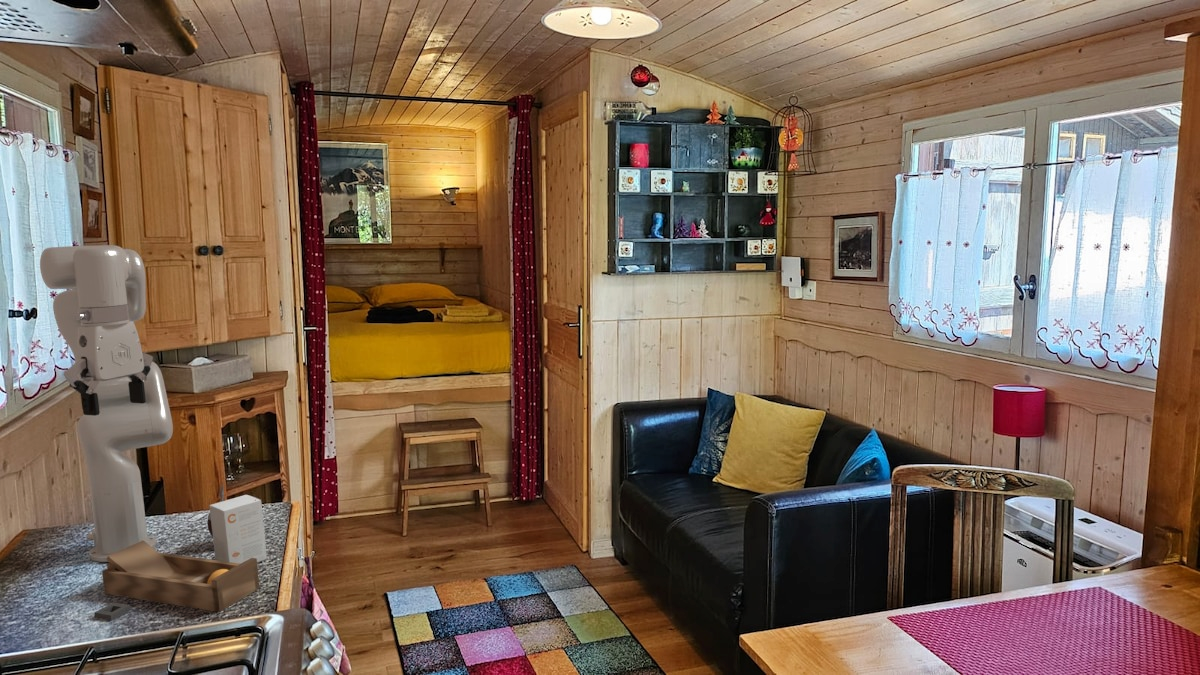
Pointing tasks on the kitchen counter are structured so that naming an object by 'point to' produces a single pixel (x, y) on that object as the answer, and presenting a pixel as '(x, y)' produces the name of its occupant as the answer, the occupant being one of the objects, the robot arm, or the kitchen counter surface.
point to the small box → (238, 529)
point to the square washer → (112, 611)
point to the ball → (216, 575)
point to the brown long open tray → (178, 578)
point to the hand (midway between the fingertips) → (115, 408)
